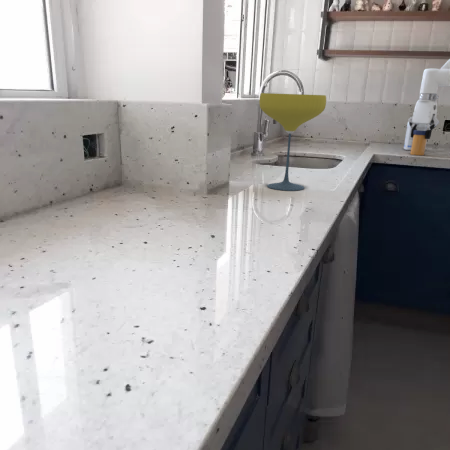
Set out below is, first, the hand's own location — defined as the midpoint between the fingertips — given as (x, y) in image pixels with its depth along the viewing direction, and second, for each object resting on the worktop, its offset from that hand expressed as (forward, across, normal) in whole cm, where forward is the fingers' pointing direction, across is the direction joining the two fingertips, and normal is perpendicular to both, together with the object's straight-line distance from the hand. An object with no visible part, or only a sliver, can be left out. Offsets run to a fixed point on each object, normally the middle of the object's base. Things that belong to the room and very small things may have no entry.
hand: (420, 137), depth 230 cm
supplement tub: (+8, +14, -16) cm, 23 cm away
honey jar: (+8, 0, 0) cm, 8 cm away
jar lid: (-3, 0, 0) cm, 3 cm away
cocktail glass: (+8, -40, +119) cm, 126 cm away
